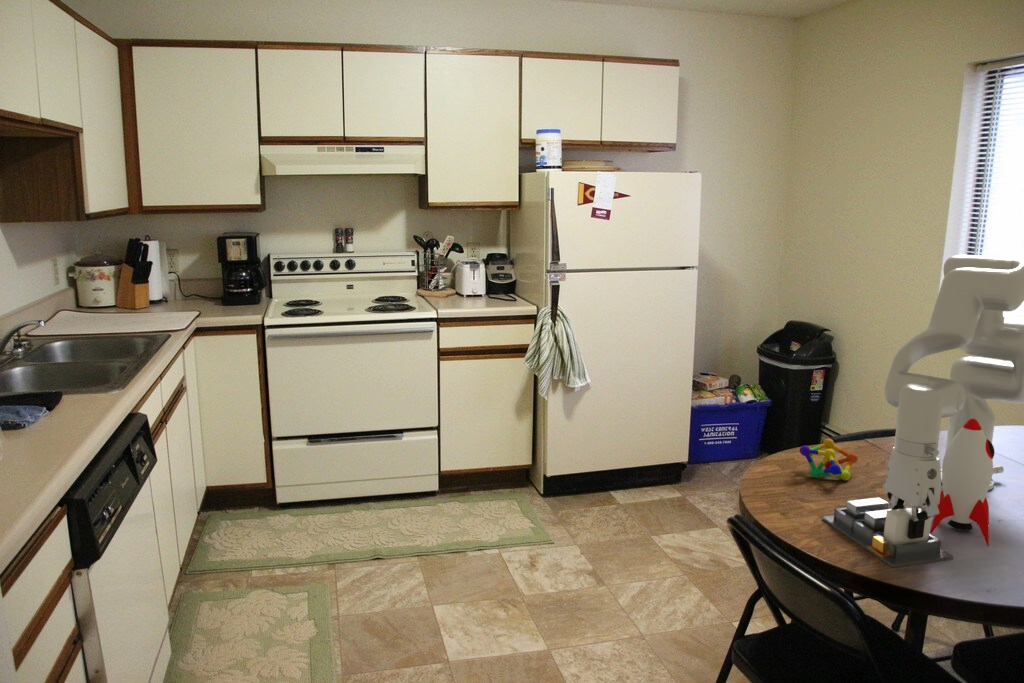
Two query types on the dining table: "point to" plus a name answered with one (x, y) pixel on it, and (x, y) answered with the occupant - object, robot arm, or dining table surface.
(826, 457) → the decorative model
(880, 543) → the rack
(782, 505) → the dining table surface
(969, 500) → the rocket
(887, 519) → the block
